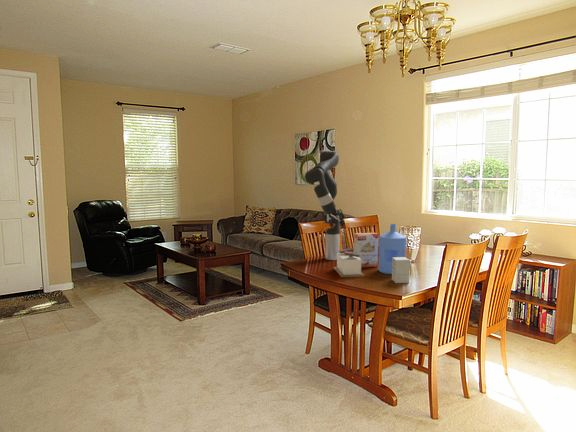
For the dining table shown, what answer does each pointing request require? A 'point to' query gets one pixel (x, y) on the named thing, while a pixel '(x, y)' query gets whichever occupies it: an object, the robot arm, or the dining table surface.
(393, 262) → the supplement box
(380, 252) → the water jug
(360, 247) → the cracker box
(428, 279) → the dining table surface
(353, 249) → the block
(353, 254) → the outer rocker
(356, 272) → the switch panel
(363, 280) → the dining table surface
